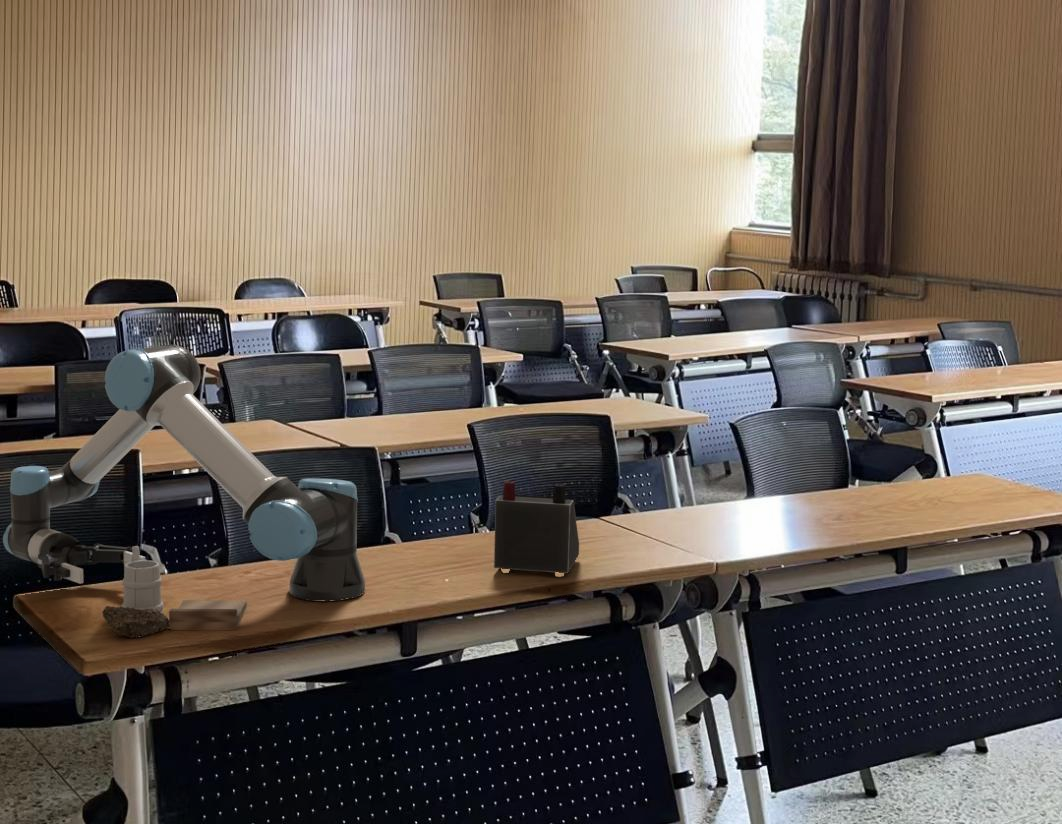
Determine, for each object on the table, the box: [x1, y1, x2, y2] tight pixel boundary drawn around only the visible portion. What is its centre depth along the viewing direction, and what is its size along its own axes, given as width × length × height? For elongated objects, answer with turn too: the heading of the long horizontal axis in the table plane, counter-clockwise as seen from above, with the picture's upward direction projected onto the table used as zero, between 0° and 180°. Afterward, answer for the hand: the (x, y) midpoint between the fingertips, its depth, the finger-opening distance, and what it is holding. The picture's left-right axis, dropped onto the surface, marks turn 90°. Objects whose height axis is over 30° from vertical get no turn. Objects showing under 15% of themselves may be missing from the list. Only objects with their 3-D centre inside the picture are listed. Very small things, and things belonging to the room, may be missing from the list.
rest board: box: [168, 599, 248, 631], centre depth 258 cm, size 12×14×4 cm
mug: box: [121, 545, 165, 613], centre depth 260 cm, size 8×12×12 cm, turn 27°
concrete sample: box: [101, 605, 169, 639], centre depth 249 cm, size 12×10×5 cm
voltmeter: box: [493, 480, 580, 574], centre depth 301 cm, size 16×16×20 cm
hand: (113, 570), depth 266 cm, fingers open, 13 cm apart
